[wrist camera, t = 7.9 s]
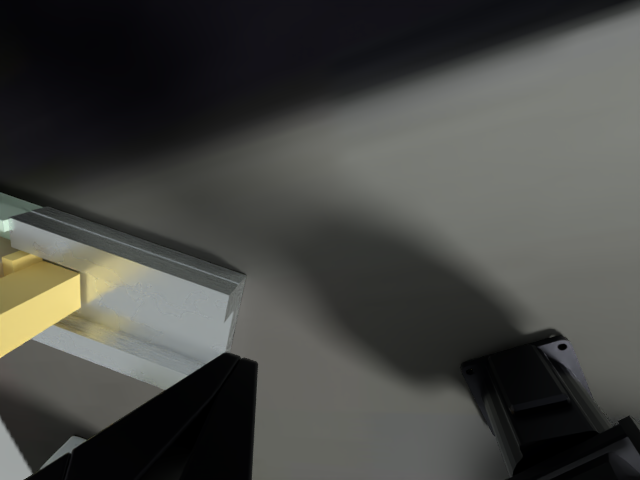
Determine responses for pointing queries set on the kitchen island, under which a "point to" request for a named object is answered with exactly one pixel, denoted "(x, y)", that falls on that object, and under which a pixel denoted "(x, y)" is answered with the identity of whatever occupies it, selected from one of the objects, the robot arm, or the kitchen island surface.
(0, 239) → the maple block
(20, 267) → the tall yellow pillar
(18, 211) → the tray
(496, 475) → the kitchen island surface
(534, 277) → the kitchen island surface
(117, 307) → the slot rail
